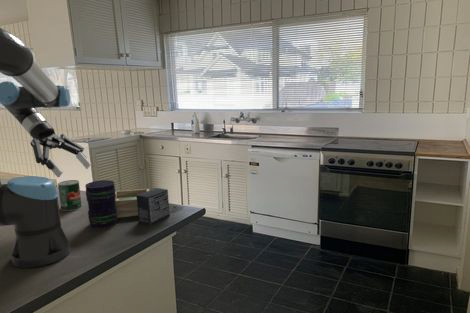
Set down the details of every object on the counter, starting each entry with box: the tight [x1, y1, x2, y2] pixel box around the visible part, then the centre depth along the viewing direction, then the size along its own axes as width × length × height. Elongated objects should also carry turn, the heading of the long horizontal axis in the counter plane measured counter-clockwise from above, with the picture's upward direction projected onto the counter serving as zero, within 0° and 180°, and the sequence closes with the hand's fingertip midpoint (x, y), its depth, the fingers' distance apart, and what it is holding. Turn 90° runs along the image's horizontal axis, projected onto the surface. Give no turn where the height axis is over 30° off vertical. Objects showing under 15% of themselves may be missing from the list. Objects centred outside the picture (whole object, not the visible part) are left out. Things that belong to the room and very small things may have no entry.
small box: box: [136, 187, 171, 226], centre depth 129 cm, size 11×6×10 cm, turn 149°
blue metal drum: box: [85, 179, 119, 230], centre depth 125 cm, size 10×10×15 cm
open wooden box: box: [115, 188, 150, 218], centre depth 139 cm, size 14×14×6 cm
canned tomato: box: [57, 179, 83, 212], centre depth 143 cm, size 8×8×11 cm
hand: (75, 170), depth 126 cm, fingers open, 13 cm apart
